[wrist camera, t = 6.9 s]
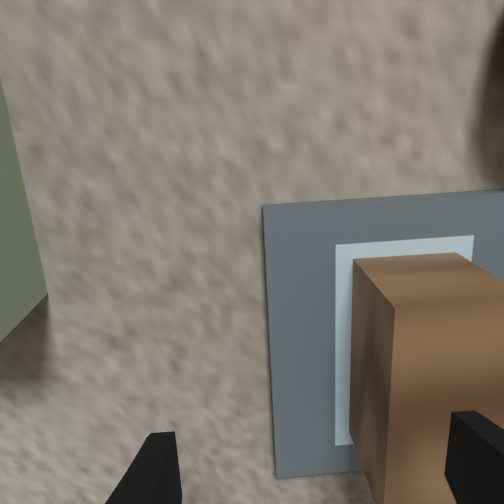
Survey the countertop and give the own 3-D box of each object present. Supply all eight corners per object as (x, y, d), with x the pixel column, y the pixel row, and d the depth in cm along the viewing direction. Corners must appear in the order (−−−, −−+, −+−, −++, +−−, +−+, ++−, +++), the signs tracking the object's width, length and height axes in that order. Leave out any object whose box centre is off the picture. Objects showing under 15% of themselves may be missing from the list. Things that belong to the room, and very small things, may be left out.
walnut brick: (438, 424, 22) (497, 511, 17) (348, 430, 22) (382, 520, 17) (455, 252, 19) (531, 299, 14) (353, 258, 19) (395, 308, 14)
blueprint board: (498, 447, 24) (507, 458, 23) (275, 466, 23) (276, 478, 22) (535, 186, 19) (548, 190, 18) (261, 205, 19) (263, 209, 18)
